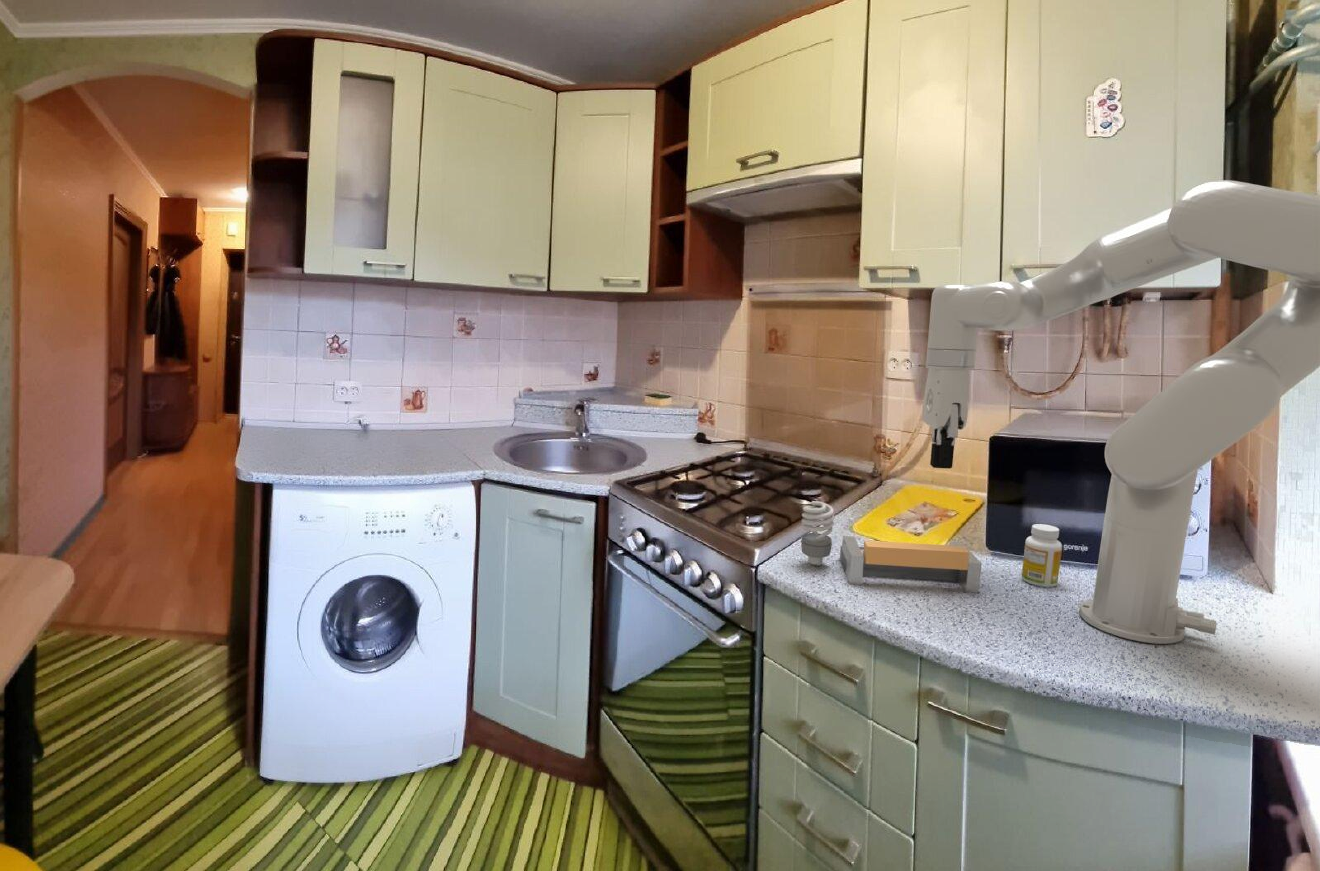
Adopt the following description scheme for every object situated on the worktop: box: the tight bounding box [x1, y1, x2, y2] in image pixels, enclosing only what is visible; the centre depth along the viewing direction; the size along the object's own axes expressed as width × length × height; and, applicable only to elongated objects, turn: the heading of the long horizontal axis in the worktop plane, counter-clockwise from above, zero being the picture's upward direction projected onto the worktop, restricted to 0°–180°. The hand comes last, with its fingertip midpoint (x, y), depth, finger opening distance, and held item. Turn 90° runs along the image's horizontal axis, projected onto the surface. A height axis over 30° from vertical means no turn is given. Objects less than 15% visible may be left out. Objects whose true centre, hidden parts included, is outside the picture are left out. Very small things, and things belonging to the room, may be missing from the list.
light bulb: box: [800, 500, 835, 567], centre depth 115 cm, size 6×6×12 cm
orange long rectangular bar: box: [863, 540, 970, 570], centre depth 107 cm, size 16×3×3 cm, turn 82°
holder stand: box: [839, 535, 983, 593], centre depth 112 cm, size 21×12×5 cm, turn 82°
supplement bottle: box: [1021, 523, 1063, 588], centre depth 110 cm, size 5×5×10 cm
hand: (940, 466), depth 111 cm, fingers closed
